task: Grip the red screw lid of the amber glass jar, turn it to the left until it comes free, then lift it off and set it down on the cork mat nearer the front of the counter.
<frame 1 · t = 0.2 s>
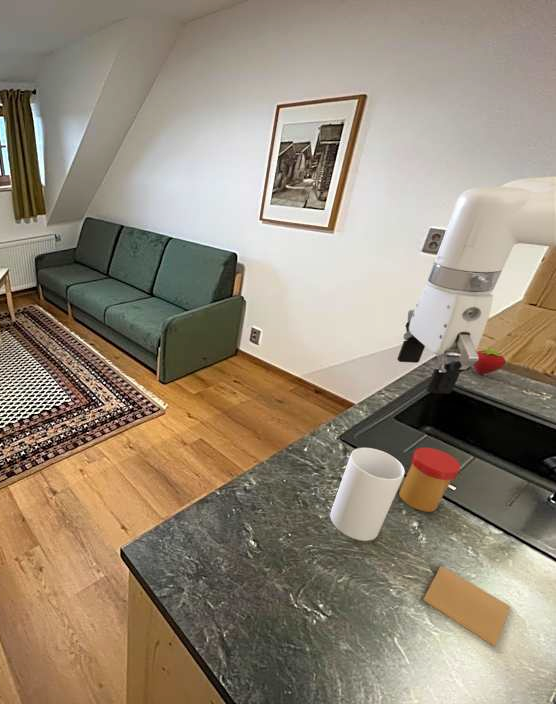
hand: (421, 375, 67), 32 cm above the counter, tool pointing down, fingers open, 9 cm apart
mat: (465, 603, 65), on the counter
jar: (417, 499, 84), on the counter
lid: (436, 461, 79), point 11 cm above the counter, screwed on, not yet turned
cup: (353, 523, 80), on the counter
strawberry: (480, 375, 123), on the counter
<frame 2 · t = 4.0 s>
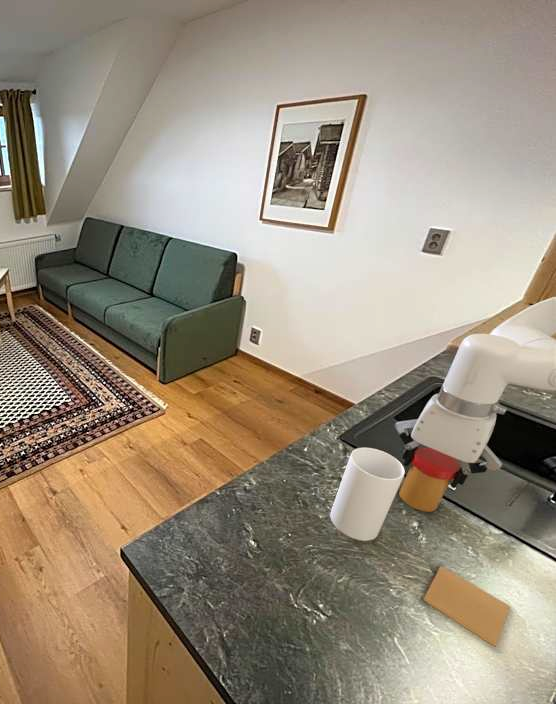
hand: (430, 472, 80), 8 cm above the counter, tool pointing down, fingers closed on lid, 7 cm apart
lid: (436, 461, 79), point 11 cm above the counter, screwed on, not yet turned, touching gripper
everything else where it was.
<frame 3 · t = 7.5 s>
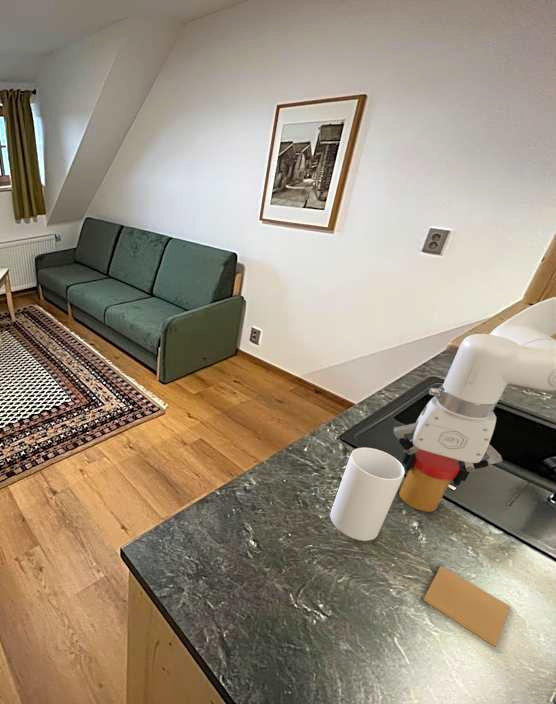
hand: (430, 472, 80), 8 cm above the counter, tool pointing down, fingers closed on lid, 7 cm apart
lid: (436, 461, 79), point 11 cm above the counter, off its thread, touching gripper
everything else where it was.
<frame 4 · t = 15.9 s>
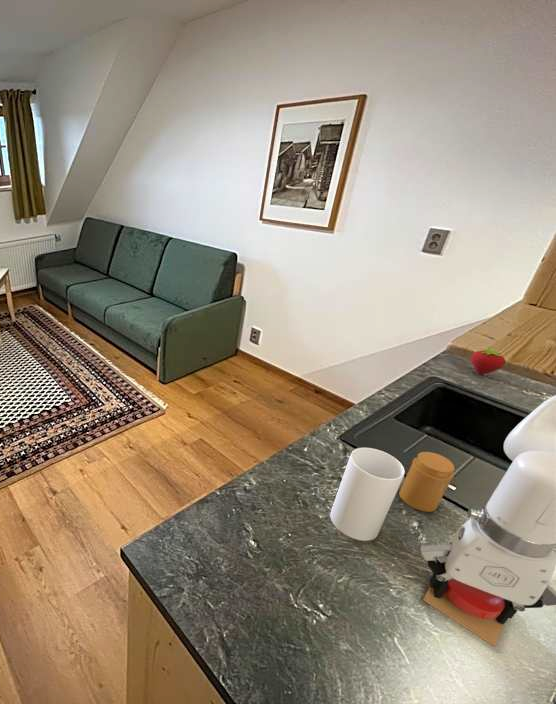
hand: (466, 601, 65), 1 cm above the counter, tool pointing down, fingers closed on lid, 7 cm apart
lid: (473, 590, 64), point 4 cm above the counter, off its thread, touching gripper
everything else where it was.
when the fingers open (2 cm above the counter, at t = 25.1 s): lid drops 3 cm, resting on mat.
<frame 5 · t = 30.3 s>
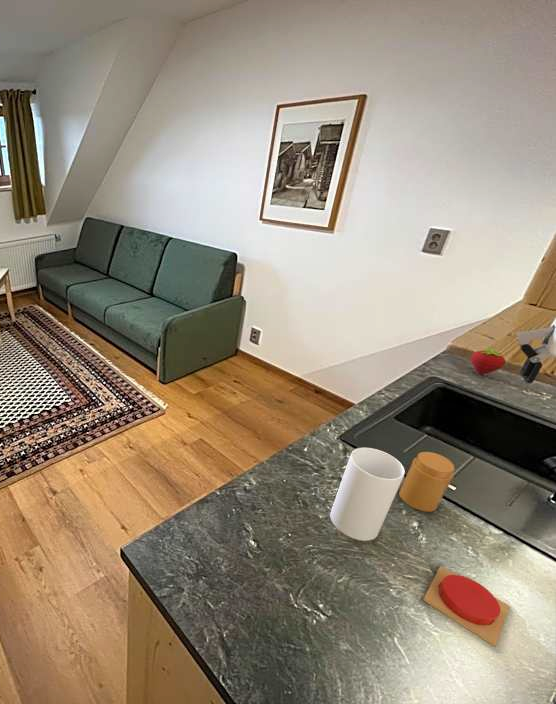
lid: (469, 597, 64), point 2 cm above the counter, off its thread, touching mat
everything else where it was.
at the end: lid inside the target area on the mat (0.1 cm from its centre), point 1.9 cm above the mat's base; lid tilted 0°; jar tilted 0° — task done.
